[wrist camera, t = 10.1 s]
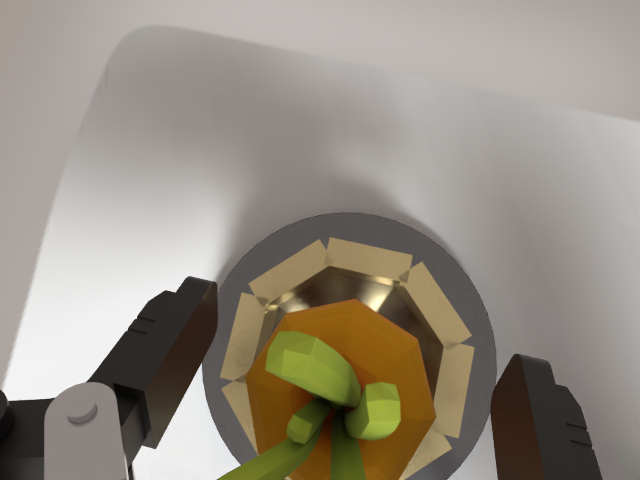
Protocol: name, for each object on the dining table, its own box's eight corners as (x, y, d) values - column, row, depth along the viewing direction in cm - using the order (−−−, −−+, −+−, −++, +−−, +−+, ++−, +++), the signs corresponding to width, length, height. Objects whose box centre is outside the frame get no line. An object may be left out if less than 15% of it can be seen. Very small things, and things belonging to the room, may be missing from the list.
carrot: (392, 425, 21) (469, 686, 6) (288, 402, 21) (123, 586, 7) (409, 318, 21) (515, 313, 7) (308, 298, 22) (201, 255, 7)
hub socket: (511, 248, 23) (545, 234, 19) (462, 542, 21) (488, 596, 17) (247, 192, 24) (227, 168, 20) (175, 462, 22) (138, 495, 18)
